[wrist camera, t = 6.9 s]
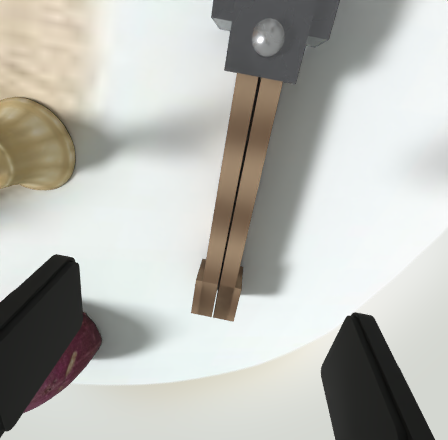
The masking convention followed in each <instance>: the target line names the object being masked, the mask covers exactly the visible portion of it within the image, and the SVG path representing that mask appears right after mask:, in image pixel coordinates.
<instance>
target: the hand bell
mask: <svg viewBox="0 0 448 440" xmlns="http://www.w3.org/2000/svg"><path fill="white" fill-rule="evenodd" d="M74 166H75V150H74V145H73V142H72V140H71V137H70V135H69V134H68V132H67V130H66V129H65V127H64V125H63V124H62V123H61V121H60V120H59V119H58V118H57V117H56V116H55V115H54V114H53V113H52V112H51V111H50V110H49V109H47V108H45V107H44V106H42V105H40V104H38V103H36V102H34V101H32V100H29V99H25V98H18V97H13V98H7V99H3V100H1V101H0V189H2V188H5V187H9V186H12V185H17V184H19V185H21V186H24V187H26V188H30V189H34V190H52V189H56V188H58V187H60V186H62V185H63V184H65V183H66V182H67V181H68V180H69V178H70V177H71V175H72V173H73V170H74Z"/></svg>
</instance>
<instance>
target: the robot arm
mask: <svg viewBox="0 0 448 440" xmlns="http://www.w3.org/2000/svg"><path fill="white" fill-rule="evenodd" d="M82 322H83V311H82V297H81V284H80V270H79V264H78V263H76V262H75V259H74V258H72V257H68V256H62V255H57V254H56V255H53V256H52V257H51V258H50V259H49V260H48V261H46V262H45V263H44V264H43V265H42V266H41V267H40V268H39V269H38V270H37V271H35V272H34V273H33V274H32V275H31V276H30V277H29V278H28V279H27V280H26V281H24V282H23V283H22V284H21V285H20V286H19V287H18V288H17V289H16V290H14V291H13V292H11V293H10V294H9V295H8V296H7V297H6V298H5V299H3V300H2V301H1V302H0V437H1V436H2V434H3V433H4V432H5V431H9V430H11V429H12V428H13V427H14V425H15V424H16V423H17V421H18V420H19V418H20V417H21V415H22V414H23V412H24V411H25V409H26V408H27V406H28V405H29V404H30V402H31V401H32V399H33V398H34V396H35V395H36V393H37V392H38V390H39V389H40V387H41V386H42V384H43V383H44V381H45V380H46V378H47V377H48V375H49V374H50V373H51V371H52V370H53V368H54V367H55V365H56V364H57V362H58V361H59V359H60V358H61V356H62V355H63V353H64V352H65V350H66V349H67V347H68V346H69V344H70V343H71V342H72V340H73V339H74V337H75V336H76V334H77V333H78V331H79V330H80V328H81V326H82ZM321 378H322V382H323V386H324V391H325V395H326V400H327V404H328V409H329V413H330V418H331V422H332V427H333V431H334V436H335V440H435V439H434V437H433V435H432V433H431V430H430V429H429V426H428V424H427V422H426V421H425V418H424V416H423V414H422V412H421V410H420V409H419V406H418V404H417V402H416V400H415V398H414V396H413V394H412V392H411V390H410V388H409V386H408V384H407V382H406V380H405V378H404V376H403V374H402V372H401V370H400V368H399V367H398V365H397V363H396V361H395V359H394V357H393V355H392V353H391V351H390V349H389V347H388V345H387V343H386V341H385V339H384V337H383V335H382V333H381V331H380V329H379V327H378V325H377V323H376V321H375V319H374V317H373V316H371V315H366V314H361V313H353V314H352V315H351V316H347V317H346V318H345V320H344V322H343V324H342V326H341V329H340V330H339V333H338V334H337V336H336V338H335V341H334V342H333V345H332V346H331V348H330V350H329V353H328V354H327V356H326V358H325V360H324V363H323V364H322V367H321Z"/></svg>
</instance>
